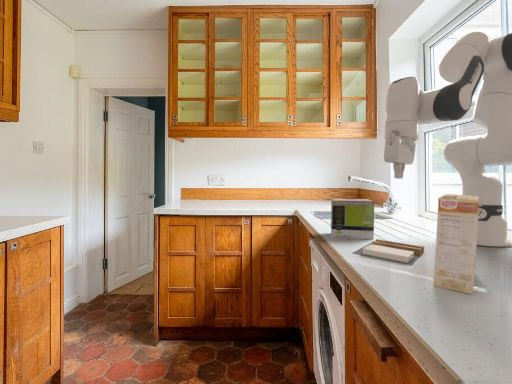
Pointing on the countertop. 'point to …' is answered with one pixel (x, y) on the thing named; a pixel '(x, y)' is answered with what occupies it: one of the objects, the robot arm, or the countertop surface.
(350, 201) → the tea box
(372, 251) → the tile
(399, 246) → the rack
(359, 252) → the mat
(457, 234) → the coffeecake box
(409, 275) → the countertop surface
